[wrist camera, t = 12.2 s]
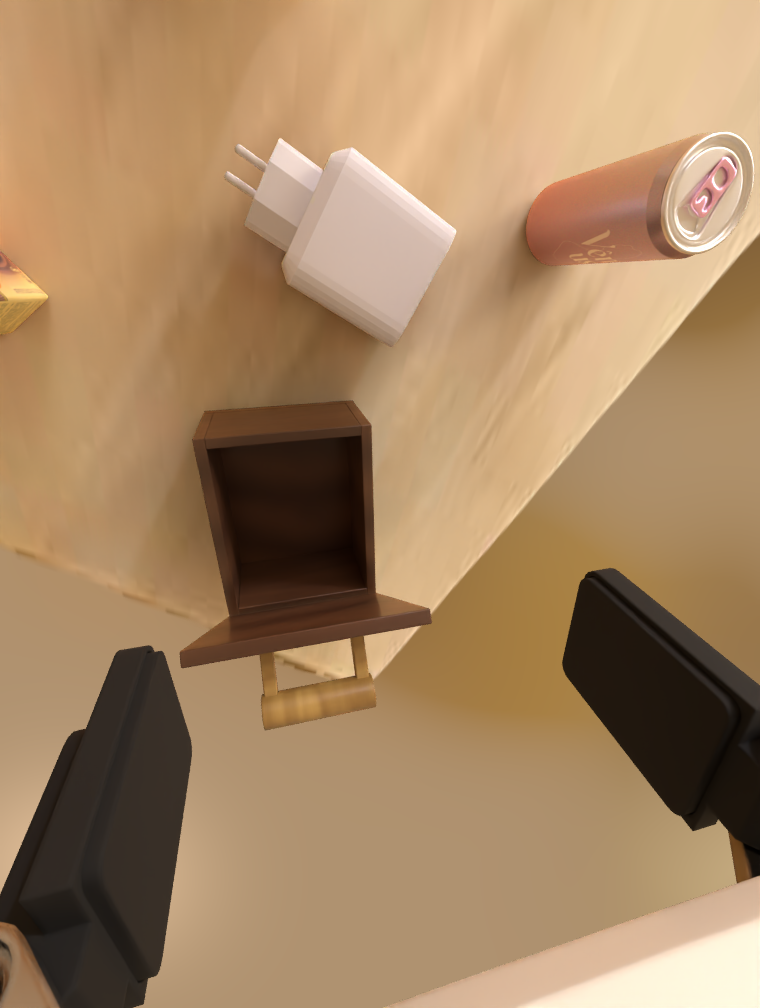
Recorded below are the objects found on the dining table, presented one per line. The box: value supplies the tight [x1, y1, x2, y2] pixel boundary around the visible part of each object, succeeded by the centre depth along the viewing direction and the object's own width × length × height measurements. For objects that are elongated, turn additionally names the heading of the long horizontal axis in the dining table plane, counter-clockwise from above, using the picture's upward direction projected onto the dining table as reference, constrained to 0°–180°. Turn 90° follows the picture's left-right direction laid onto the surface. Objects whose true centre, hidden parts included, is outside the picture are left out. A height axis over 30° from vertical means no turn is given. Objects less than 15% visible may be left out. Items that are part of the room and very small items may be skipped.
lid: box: [180, 593, 432, 730], centre depth 30 cm, size 16×13×5 cm
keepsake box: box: [192, 401, 376, 616], centre depth 39 cm, size 16×13×8 cm
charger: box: [224, 138, 456, 347], centre depth 32 cm, size 5×9×15 cm
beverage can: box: [526, 132, 754, 266], centre depth 31 cm, size 6×6×15 cm
